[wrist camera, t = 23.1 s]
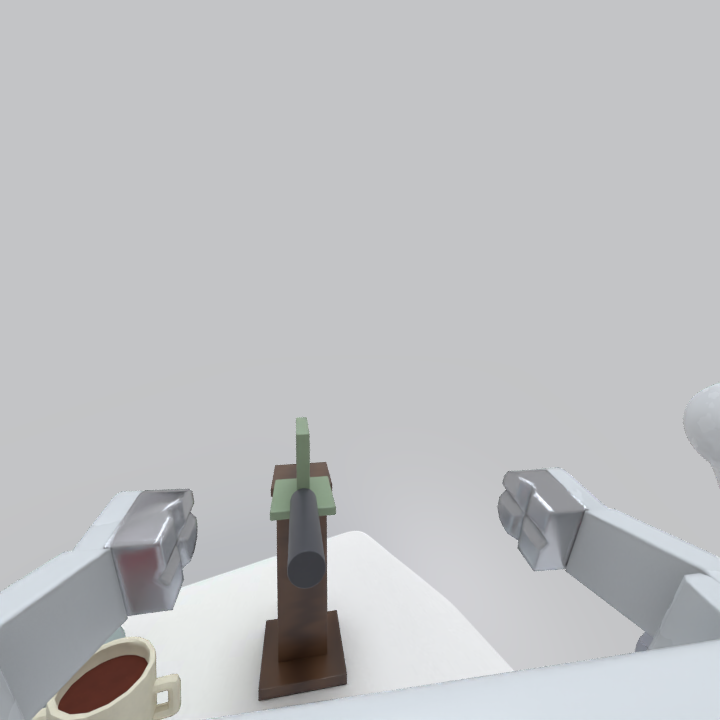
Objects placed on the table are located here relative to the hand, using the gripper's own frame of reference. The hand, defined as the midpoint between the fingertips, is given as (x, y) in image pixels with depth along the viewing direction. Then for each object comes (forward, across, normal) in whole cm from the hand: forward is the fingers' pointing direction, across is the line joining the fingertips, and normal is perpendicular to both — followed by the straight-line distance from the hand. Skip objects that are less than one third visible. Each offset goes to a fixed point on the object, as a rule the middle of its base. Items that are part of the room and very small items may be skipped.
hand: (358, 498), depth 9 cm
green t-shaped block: (+17, -2, -18) cm, 24 cm away
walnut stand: (+22, -2, -44) cm, 49 cm away
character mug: (+9, -18, -40) cm, 45 cm away
